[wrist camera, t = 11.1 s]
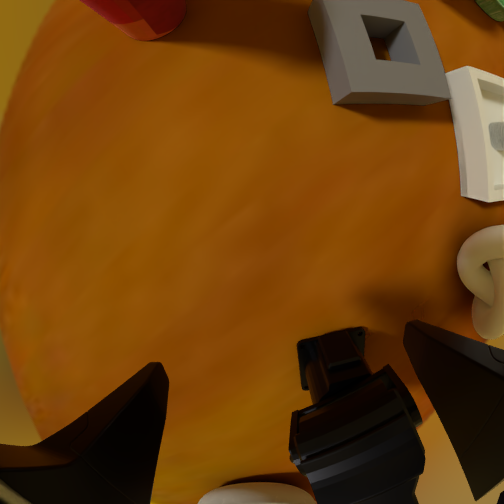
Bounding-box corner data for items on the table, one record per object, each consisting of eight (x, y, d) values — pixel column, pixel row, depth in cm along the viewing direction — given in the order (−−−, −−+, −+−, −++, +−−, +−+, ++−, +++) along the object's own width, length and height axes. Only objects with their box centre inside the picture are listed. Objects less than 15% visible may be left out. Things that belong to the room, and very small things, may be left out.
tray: (517, 189, 19) (540, 194, 16) (461, 195, 20) (488, 202, 16) (504, 91, 16) (527, 89, 12) (442, 74, 16) (467, 65, 13)
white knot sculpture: (480, 319, 24) (522, 355, 16) (424, 307, 23) (474, 356, 15) (513, 236, 21) (562, 259, 13) (463, 202, 20) (530, 222, 12)
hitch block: (424, 105, 18) (451, 98, 14) (333, 104, 18) (351, 91, 14) (397, 20, 15) (418, 4, 11) (307, 12, 15) (317, -12, 11)
